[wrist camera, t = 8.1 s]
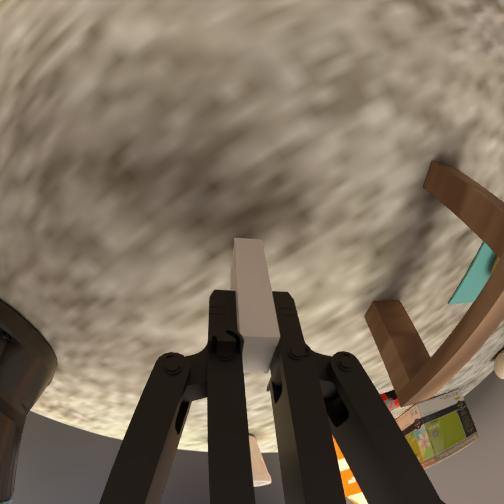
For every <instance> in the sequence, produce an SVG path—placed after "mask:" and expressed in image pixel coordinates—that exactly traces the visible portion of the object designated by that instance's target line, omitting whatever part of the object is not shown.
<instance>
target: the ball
mask: <svg viewBox="0 0 504 504" xmlns="http://www.w3.org/2000/svg"><path fill="white" fill-rule="evenodd" d="M499 260H500V258H499V257H498V256H497V258H496V259H495V261H494V264H493V268H492V272H493V271H494V269H495V267H496V265H497V264H498V262H499Z"/></svg>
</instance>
